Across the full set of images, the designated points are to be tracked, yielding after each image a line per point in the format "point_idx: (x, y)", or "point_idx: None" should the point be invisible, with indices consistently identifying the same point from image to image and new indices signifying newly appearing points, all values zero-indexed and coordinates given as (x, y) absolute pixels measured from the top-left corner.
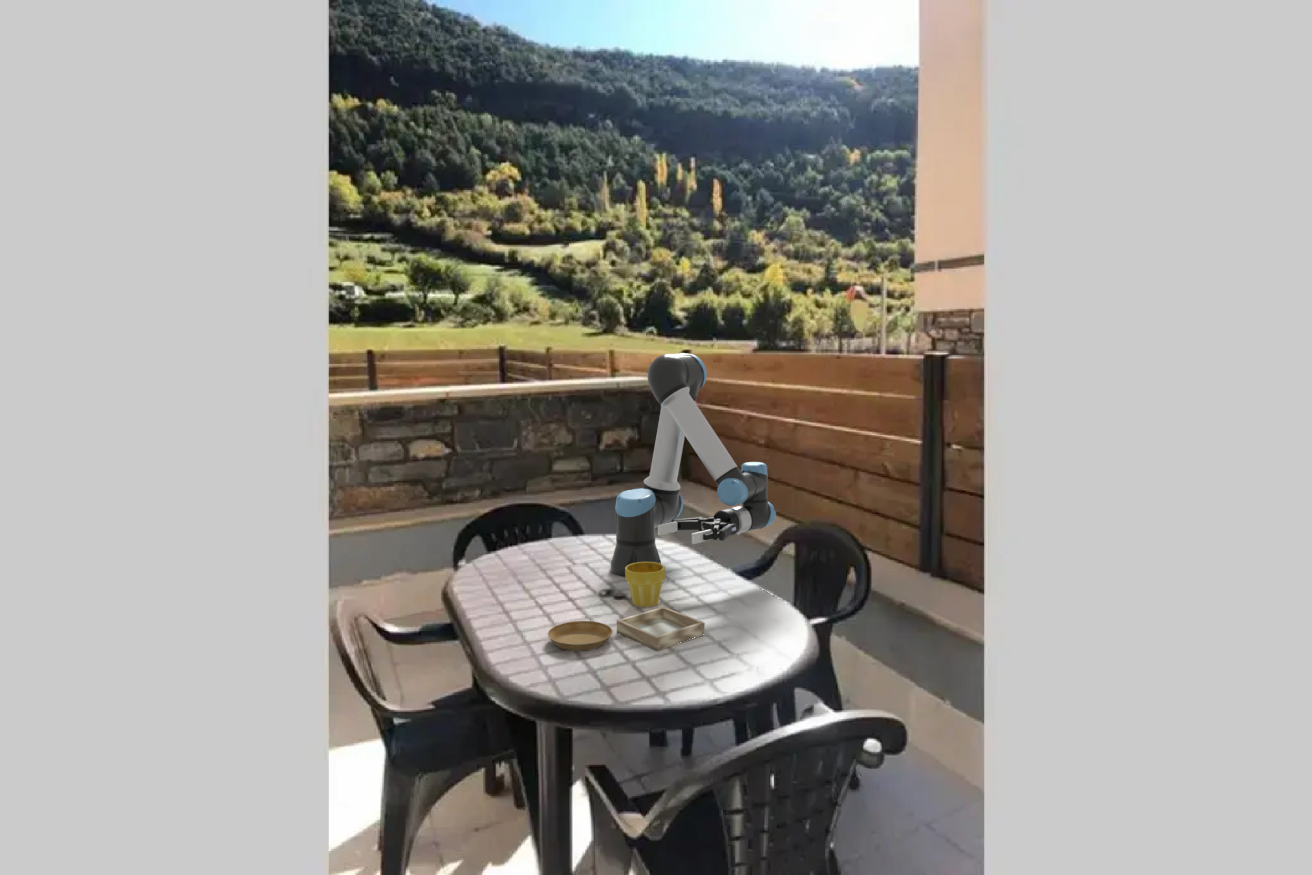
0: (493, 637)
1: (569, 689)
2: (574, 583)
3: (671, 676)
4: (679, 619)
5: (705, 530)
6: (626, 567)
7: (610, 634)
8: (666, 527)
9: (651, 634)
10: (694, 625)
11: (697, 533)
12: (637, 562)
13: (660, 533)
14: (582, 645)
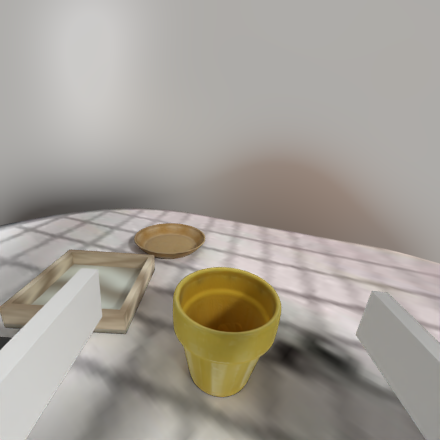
0: (236, 226)
1: (111, 215)
2: None
3: (28, 244)
4: None
5: (8, 365)
6: (255, 276)
7: (137, 243)
8: (401, 350)
9: (82, 251)
10: (20, 291)
11: (63, 289)
12: (278, 306)
13: (362, 332)
14: (146, 229)
